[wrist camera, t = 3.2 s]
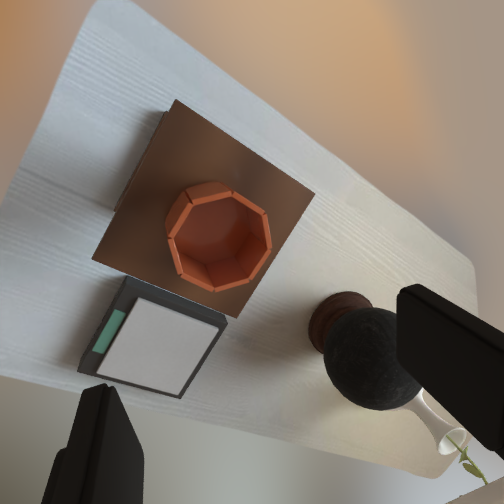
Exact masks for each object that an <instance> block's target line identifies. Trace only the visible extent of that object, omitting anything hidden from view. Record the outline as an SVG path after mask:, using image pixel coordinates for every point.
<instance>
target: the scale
mask: <svg viewBox="0 0 504 504" xmlns="http://www.w3.org/2000/svg"><path fill="white" fill-rule="evenodd" d="M227 325H228V323H227V320H226V318H225V315H223V314H221V313H219V312H216V311H214V310H211V309H209V308H206V307H204V306H201V305H199V304H196V303H194V302H192V301H189V300H187V299H184V298H182V297H179V296H177V295H174V294H172V293H170V292H167V291H165V290H162V289H160V288H157V287H155V286H152V285H150V284H147V283H145V282H143V281H140V280H138V279H135V278H133V277H130V276H128V275H127V277H126V278H125V280H124V282H123V284H122V286H121V287H120V289H119V291H118V293H117V295H116V296H115V298H114V300H113V302H112V304H111V306H110V307H109V309H108V311H107V313H106V315H105V316H104V318H103V320H102V322H101V324H100V325H99V327H98V329H97V331H96V333H95V334H94V336H93V338H92V340H91V342H90V344H89V345H88V347H87V349H86V351H85V353H84V354H83V356H82V358H81V360H80V363H79V367H78V370H77V372H80V373H84V374H87V375H91V376H95V377H99V378H102V379H106V380H110V381H114V382H117V383H121V384H125V385H129V386H133V387H136V388H140V389H144V390H148V391H151V392H155V393H159V394H163V395H166V396H170V397H174V398H178V399H181V398H182V396H183V395H184V393H185V391H186V390H187V388H188V387H189V385H190V383H191V382H192V380H193V379H194V377H195V375H196V374H197V372H198V371H199V369H200V368H201V366H202V364H203V363H204V361H205V360H206V358H207V356H208V355H209V353H210V352H211V350H212V348H213V347H214V345H215V344H216V342H217V341H218V339H219V337H220V336H221V334H222V333H223V331H224V329H225V328H226V326H227Z"/></svg>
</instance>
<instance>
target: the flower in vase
mask: <svg viewBox="0 0 504 504" xmlns="http://www.w3.org/2000/svg"><path fill="white" fill-rule="evenodd" d="M422 393H423V387H422V389H421V390H420V392H419V393H418V394H417V395H416V396H415V397H414V399H413V400H411V401H410V402H408V403H407V404H405V405H404V406H401V407H398V408H395V409H390V410H385V411H397V410H404V409H409V410H411V411H413V412H414V413H415V414H416V415H417V416H418V417H419V418H420V419H421V420H422V421H423V422H424V423H425V425H426V426H427V427H428V429H429V430H430V432H431V433H432V435H433V437H434V439H435V441H436V445H437V450H438V452H439V453H440V454H442V455H447V454H450V453H452V452H454V451H456V450H457V449H458V450H459V451H460V452H461V453H462V454H461V458H460V461H459V463H460V462H461V461H463V460H467V459H468V460H469V462H470V463H471V464H472V465H473V466H472V465H470V464H467V463H463V466H464V468H465V469H466V470H467V471H468V472H470V473H472V474H473V475H475V476H476V477H479V478H482V479H483V480H484V482H485V485H487V484H488V483H487V481H486V479H485V477H484V475H483V474H482V473H481V471H480V470H479V469H478V467H477V466H476V465H475V464H474V463H473V461H471V459H470V458H469V457H468V456H467V454H466V453H467V450H468V446H467V447H466V448H465V449H464V450H462V449H461V448H460V446H461V445H462V444H463V442H464V441H465V438H466V431H465V429H463V428H460V427H456V426H453V425H451V424H449V423H447V422H446V421H444V420H443V419H441V418H440V417H439V416H438V415H436V414H435V413H434V412H433V411H432V410H431V409H430V408H429V407H428V406H427V405H426V404H425V402H424V401H423V398H422ZM461 496H463V495H461ZM461 496H460V497H461Z"/></svg>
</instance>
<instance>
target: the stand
mask: <svg viewBox="0 0 504 504" xmlns="http://www.w3.org/2000/svg"><path fill="white" fill-rule="evenodd" d="M215 181H219V182H223V183H225V184H226V185H228V186H229V187H231V188H232V189H234V190H235V191H237V192H238V193H240V194H242V195H243V196H245V197H246V198H248V199H249V200H250V201H252V202H253V203H255V204H256V205H257V206H259V207H260V208H261V209H263V210H264V211H265V212H264V213H266V214H267V218H268V224H269V231H270V237H271V243H272V248H271V249H270V250H271V253H270V254H269V256H268V257H267V259H266V260H265V262H264V263H263V265H262V266H261V268H260V269H259V271H258V272H257V274H256V275H255V277H254V278H253V280H250V279H249V283H245V284H242V285H239V286H235V287H232V288H229V289H225V290H222V291H219V292H215V291H214V290H213V291H212V292H210V291H208V290H206V289H204V288H202V287H200V286H198V285H196V284H193V283H191V282H189V281H187V280H185V279H183V278H181V277H180V274H177V270H176V267H175V264H174V260H173V257H172V254H171V250H170V247H169V244H168V240H167V234H166V227H165V222H166V220H165V218H166V217H167V215H168V213H169V212H170V209H171V207H172V205H173V203H174V202H175V200H176V199H177V198H178V197H179V195H180V194H181V192H182V191H185V188H189V187H192V186H194V185H197V184H201V183H208V182H215ZM314 195H315V193H314V192H312V191H311V190H309V189H308V188H306V187H305V186H304V185H302V184H301V183H299V182H298V181H296V180H295V179H293V178H292V177H290V176H289V175H287V174H286V173H284V172H283V171H281V170H280V169H278V168H277V167H275V166H274V165H273V164H271V163H270V162H268V161H267V160H265V159H264V158H262V157H261V156H259V155H258V154H256V153H255V152H253V151H252V150H250V149H249V148H247V147H246V146H245V145H243V144H242V143H240V142H239V141H237V140H236V139H234V138H233V137H231V136H230V135H228V134H227V133H225V132H224V131H222V130H221V129H219V128H218V127H217V126H215V125H214V124H212V123H211V122H209V121H208V120H206V119H205V118H203V117H202V116H200V115H199V114H197V113H196V112H194V111H193V110H191V109H190V108H189V107H187V106H186V105H184V104H183V103H181V102H180V101H178V100H177V99H175V101H174V102H173V104H172V106H171V108H170V110H169V112H168V111H166V112H165V113H164V115H163V117H162V119H161V121H160V123H159V125H158V127H157V129H156V130H155V132H154V134H153V136H152V138H151V140H150V142H149V144H148V146H147V148H146V149H145V151H144V153H143V155H142V157H141V159H140V161H139V163H138V165H137V167H136V169H135V170H134V172H133V174H132V176H131V178H130V180H129V182H128V184H127V186H126V188H125V189H124V191H123V193H122V195H121V197H120V199H119V201H118V203H117V205H116V207H115V209H114V212H115V214H114V216H113V218H112V220H111V222H110V224H109V226H108V228H107V230H106V231H105V233H104V235H103V237H102V239H101V241H100V243H99V245H98V247H97V249H96V250H95V252H94V254H93V256H92V260H94V261H97V262H99V263H102V264H104V265H107V266H109V267H112V268H114V269H116V270H119V271H121V272H124V273H126V274H129V275H131V276H134V277H136V278H138V279H141V280H143V281H146V282H148V283H151V284H153V285H156V286H158V287H160V288H163V289H165V290H168V291H170V292H173V293H175V294H178V295H180V296H182V297H185V298H187V299H190V300H192V301H195V302H197V303H199V304H202V305H204V306H207V307H209V308H212V309H214V310H217V311H219V312H221V313H224V314H226V315H229V316H231V317H234V318H236V319H237V317H238V316H239V314H240V312H241V311H242V309H243V308H244V306H245V305H246V303H247V301H248V300H249V298H250V297H251V295H252V294H253V292H254V290H255V289H256V287H257V286H258V284H259V282H260V281H261V279H262V278H263V276H264V275H265V273H266V271H267V270H268V268H269V267H270V265H271V263H272V262H273V260H274V259H275V257H276V256H277V254H278V252H279V251H280V249H281V248H282V246H283V244H284V243H285V241H286V240H287V238H288V237H289V235H290V233H291V232H292V230H293V229H294V227H295V225H296V224H297V222H298V221H299V219H300V218H301V216H302V214H303V213H304V211H305V210H306V208H307V206H308V205H309V203H310V202H311V200H312V199H313V197H314Z"/></svg>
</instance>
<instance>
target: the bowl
mask: <svg viewBox="0 0 504 504" xmlns="http://www.w3.org/2000/svg"><path fill="white" fill-rule="evenodd" d="M264 212H265V211H264V210H263V209H261V208H260V207H259V206H257V205H256V204H255V203H253V202H252V201H250V200H249V199H248V198H246V197H245V196H243V195H242V194H240V193H238V192H237V191H235V190H234V189H232V188H231V187H229V186H228V185H226V184H225V183H223V182H219V181H215V182H208V183H201V184H197V185H194V186H192V187H189V188H185V191H182V192H181V194H180V195H179V197H178V198H177V199H176V200H175V202H174V203H173V205H172V207H171V209H170V212H169V213H168V215H167V217H166V218H165V220H166V222H165V227H166V234H167V240H168V244H169V247H170V250H171V254H172V257H173V260H174V264H175V267H176V270H177V274H180V277H181V278H183V279H185V280H187V281H189V282H191V283H193V284H196V285H198V286H200V287H202V288H204V289H206V290H208V291H210V292H212V291H213V290H214V291H215V292H219V291H222V290H225V289H229V288H232V287H235V286H239V285H242V284H245V283H249V279H250V280H253V278H254V277H255V275H256V274H257V272H258V271H259V269H260V268H261V266H262V265H263V263H264V262H265V260H266V259H267V257H268V256H269V254H270V253H271V250H270V249H271V248H272V243H271V237H270V231H269V224H268V218H267V214H266V213H264Z"/></svg>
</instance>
